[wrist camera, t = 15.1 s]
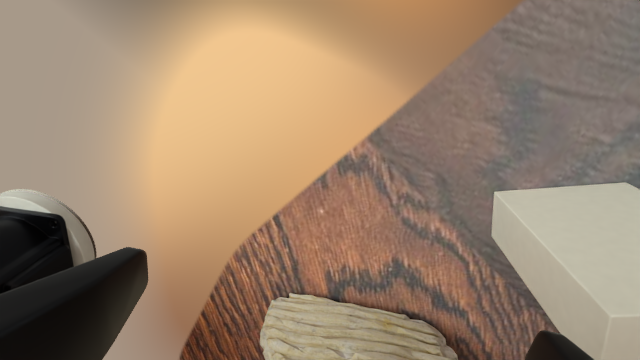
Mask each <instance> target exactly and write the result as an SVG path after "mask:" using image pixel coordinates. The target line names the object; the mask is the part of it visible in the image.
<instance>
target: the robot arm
mask: <svg viewBox="0 0 640 360" xmlns="http://www.w3.org/2000/svg"><path fill="white" fill-rule="evenodd" d="M55 222H56V223H57V224H56V223H55ZM147 283H148V268H147V255H146V252H145V251H144V250H141V249H136V248H131V247H126V248H123V249H120V250H118V251H115V252H112V253H110V254H107V255H105V256H102V257H99V258H96V259H93V260H91V261H88V262H85V263H83V264H80V265H77V266H75V267H74V264H73V259H72V254H71V248H70V243H69V238H68V233H67V228H66V223H65V220H64V218H63V217H62V216H60V215H58V214H53V213H46V212H39V211H31V210H24V209H17V208H9V207H2V206H0V360H102V359H103V357H104V356H105V354H106V353H107V352H108V350H109V349H110V347H111V345H112V344H113V342H114V341H115V339H116V338H117V336H118V334H119V333H120V331H121V329H122V327H123V326H124V324H125V322H126V321H127V319H128V317H129V316H130V314H131V312H132V311H133V309H134V307H135V305H136V304H137V302H138V300H139V299H140V297H141V295H142V294H143V292H144V290H145V288H146V286H147ZM525 360H594V359H593V358H592V357H591V356H589V355H588V354H587V353H585V352H584V351H583V350H582V349H580V348H579V347H578V346H577V345H575V344H574V343H573V342H572V341H570V340H569V339H568V338H567V337H565V336H564V335H562V334H560V333H555V332H550V331H545V330H544V331H540V332H539V333H538V334H537V335H536V337H535V339H534V341H533V343H532V345H531V347H530V349H529V351H528V353H527V354H526V357H525Z"/></svg>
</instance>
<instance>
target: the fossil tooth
mask: <svg viewBox="0 0 640 360" xmlns="http://www.w3.org/2000/svg"><path fill="white" fill-rule="evenodd" d="M260 335H261V336H260V345H261V346H262V348H263V349H264V352H263V355H264V357H265V359H266V360H458V357H457V354H456V353H455V352H454V351H453V349H452V348H450V347H448V346H447V345H446V339H445V338H444V337H443V335H442V334H441V333H440V332H439V331H438V330H437V329H436V328H434V327H433V326H431V325H429V324H427V323H426V322H424V321H422V320H413V319H409V318H408V317H407V316H406V315H403V314H397V313H392V312H387V311H383V310H380V309H373V308H367V307H363V306H359V305H356V304H352V303H349V304H347V303H338V302H335V301H333V300H330V299H327V298H324V297H316V296H313V295H297V294H293V293H290V294H289V298H283V297H279V298H277V299H276V300H272V301H271V304H270V307H269V308H268V312H267V314H266V316H265V321H264V324H263V327H262V329H261V333H260Z"/></svg>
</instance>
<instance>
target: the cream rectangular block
mask: <svg viewBox="0 0 640 360" xmlns="http://www.w3.org/2000/svg"><path fill="white" fill-rule="evenodd" d="M491 236H492V238H493V239H494V241H495V242H496V243H497V245H498V246H499V248H500V249H501V250H502V252H503V253H504V255H505V256H506V257H507V259H508V260H509V262H510V263H511V265H512V266H513V267H514V269H515V270H516V272H517V273H518V274H519V276H520V277H521V279H522V280H523V281H524V283H525V284H526V286H527V287H528V289H529V290H530V291H531V293H532V294H533V296H534V297H535V298H536V300H537V301H538V303H539V304H540V305H541V307H542V308H543V310H544V311H545V312H546V314H547V315H548V317H549V318H550V320H551V321H552V322H553V324H554V325H555V327H556V328H557V329H558V331H559V332H560V334H562V335H564V336H565V337H567V338H568V339H569V340H570V341H572V342H573V343H574V344H575V345H577V346H578V347H579V348H580V349H582V350H583V351H584V352H585V353H587V354H588V355H589V356H591V357H592V358H593V359H594V360H640V190H639V189H638V188H636V187H634V186H632V185H630V184H628V183H611V184H597V185H582V186H568V187H554V188H540V189H525V190H511V191H497V192H494V203H493V218H492V234H491Z"/></svg>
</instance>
